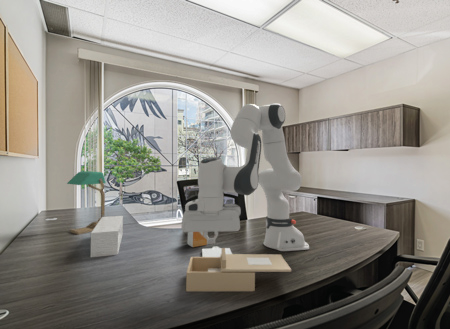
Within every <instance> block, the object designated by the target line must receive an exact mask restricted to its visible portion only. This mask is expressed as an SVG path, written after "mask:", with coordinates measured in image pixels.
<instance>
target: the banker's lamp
mask: <svg viewBox="0 0 450 329" xmlns="http://www.w3.org/2000/svg"><path fill="white" fill-rule="evenodd" d="M66 184H67V185H76V186H84V185H87V186H88V187H89V188H91V189H94V190H96V191H98V192H99V193H100V196H101V198H100V201H101V202H100V218H98V220H97V221H93V222H91V223H90V224H88V225H86V226H85V227H80V228H75V229H72V228H71V229H70V233H72V234H75V235H83V234H87V233H91V232H92V231H93V229H94V228H95V226H96V225H97V224H98V222H99V221H100V219H101V218H102V217H105V210H106V209H105V206H106V203H105V201H106V200H105V198H106V197H105V196H106V195H105V192H104V189H105V184H106V179H105V175H104V173H103V172H101V171H89V170H88V171H85V170H84V171H78V172H77V173H76V174H75V175H74V176H73V177H72V178H70V180H69V181H68V182H67V183H66ZM94 185H100V186H101V188H99V187H96V186H94Z"/></svg>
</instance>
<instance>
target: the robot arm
mask: <svg viewBox="0 0 450 329" xmlns="http://www.w3.org/2000/svg"><path fill="white" fill-rule="evenodd" d="M285 120H286V111H285V109H284V107H283V105H281V103H271V104H263V105H260V106H257V105H256V104H253V103H247V104H244V105H243V106H242V107H241V108H240V109H239V111H238V113H237V114H236V116H235V118H234V120H233V122H232V125H231V128H230V138H231V139H232V140H233V142H234V143H235V144H236V145H237V146H239V147H241V148H245V149H246V158H245V163H244V164H243V165H241V166H228V165H226V164H224V163H223V161H222V158H220V157H216V156H215V157H212V156H211V157H206V158H205V157H204V158H203V159H202V160H200V161H199V164H198V171H197V172H198V173H197V185H198V188H199V189H198V194H197V199H194V200H191V201H188V202H187V203H185V205H184V206H185V207H184V208H185V209H184V210H185V211H184V212H183V214H182V218H181V219H182V220H181V231H182V232H183V233H188V232H204V236H205V238H206V239H207V245H215V244H216V239H217V238H218V236H219V232H238V231H239V230H240V229H241V221H240V216H241V213H242V212H241V210H242V209H241V207H240V205H238V204H237V203H224V193H229V194H239V195H243V196H250V195H251V194H253V193H254V192H255V191H256V190H257V189H258V186H260V187H261V188H262V189H263V192H264V195H265V198H266V217H265V228H266V230H265V236H264V240H263V245H264V246H265V247H267V248H270V249H273V250H277V251H280V252H292V251H293V252H294V251H304V250H305V251H306V250H310V245H309V243H308V242H306V241H305V237H304V234H303V233H302V231H300V230H299V229H298V228H296V227H295V226H294V225H296V224H297V221H296V220H295V219H293V218H291V217H290V203H289V202H290V201H289V200H288V199H287V198H286V197H285V196H284V194H283V192H295V191H298V190H299V189H300V188H301V186H302V183H303V176H302V175H301V173H300V172H299V171H298V170H297V169H295V168H294V166H293V165H292V162H291V161H290V159H289V156H288V152H287V147H286V140H285V134H284V130H283V125H284V123H285ZM258 131H260V132H261V135H260V134H259V133H258ZM262 148H263V155H264V160H266V162H268V163H269V165H270V166H271V167H272V168H266V169H262V170H261V171H259V170H260V169H259V168H260V160H261V152H262ZM210 232H211V233H212V232H214V236H213V237H209V235H208V234H209V233H210Z"/></svg>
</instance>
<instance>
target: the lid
mask: <svg viewBox="0 0 450 329" xmlns="http://www.w3.org/2000/svg"><path fill="white" fill-rule="evenodd" d="M225 248H226V247H222V254H220V258H221V272H255V273H257V272H259V273H260V272H261V273H262V272H265V273H267V272H268V273H271V272H272V273H273V272H274V273H275V272H277V273H278V272H282V273H284V272H285V273H288V272H289V273H290V272H292V268H291V267H290V266H289V264H288V262H286V259H284V257H283V255H282V254H280V253H279V254H277V253H276V254H270V253H269V254H267V253H261V254H260V253H259V254H258V253H257V254H256V253H254V254H253V253H246V254H245V253H244V254H243V253H241V254H240V253H232V254H225Z"/></svg>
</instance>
